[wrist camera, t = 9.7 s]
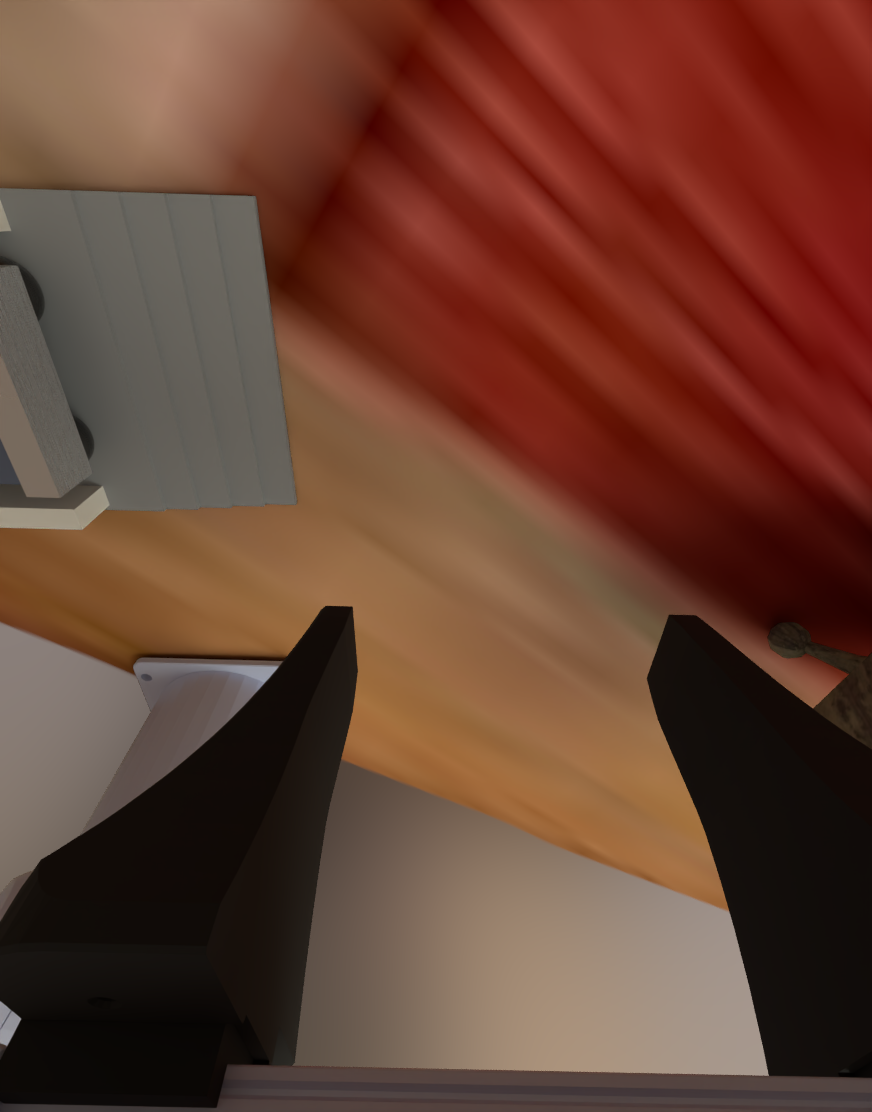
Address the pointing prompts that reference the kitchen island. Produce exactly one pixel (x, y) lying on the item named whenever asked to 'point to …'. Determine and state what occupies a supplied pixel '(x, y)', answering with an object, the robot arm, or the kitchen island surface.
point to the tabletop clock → (854, 704)
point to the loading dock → (155, 350)
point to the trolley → (34, 398)
